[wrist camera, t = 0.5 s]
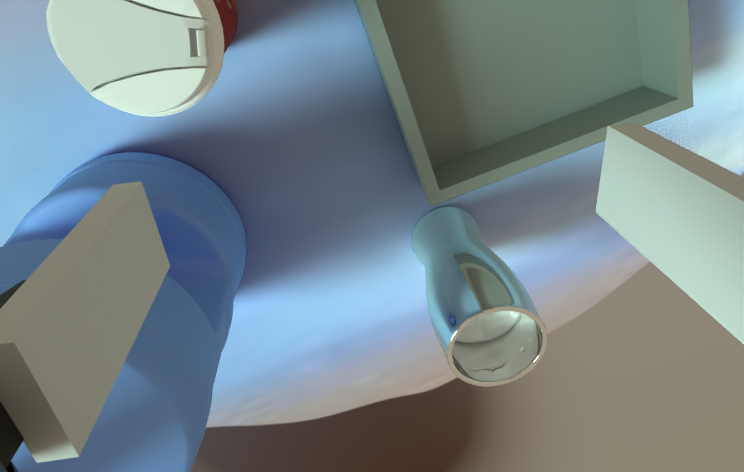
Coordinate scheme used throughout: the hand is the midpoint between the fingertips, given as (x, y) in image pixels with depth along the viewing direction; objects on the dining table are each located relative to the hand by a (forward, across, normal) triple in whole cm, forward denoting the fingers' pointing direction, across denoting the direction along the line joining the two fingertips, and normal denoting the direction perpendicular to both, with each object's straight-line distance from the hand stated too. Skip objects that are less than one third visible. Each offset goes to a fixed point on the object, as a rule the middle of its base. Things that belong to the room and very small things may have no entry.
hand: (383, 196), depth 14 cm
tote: (+26, +12, +2) cm, 28 cm away
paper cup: (+26, -10, +4) cm, 28 cm away
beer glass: (+26, +7, -16) cm, 31 cm away
